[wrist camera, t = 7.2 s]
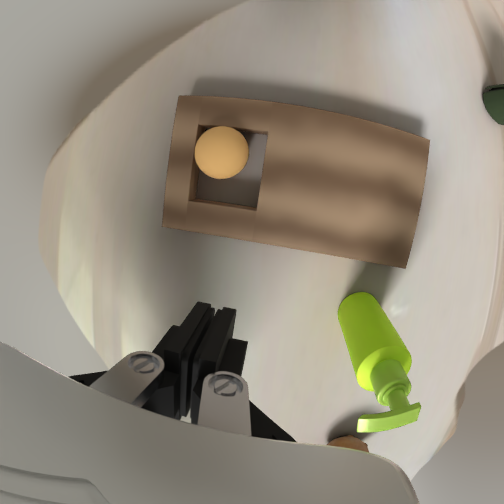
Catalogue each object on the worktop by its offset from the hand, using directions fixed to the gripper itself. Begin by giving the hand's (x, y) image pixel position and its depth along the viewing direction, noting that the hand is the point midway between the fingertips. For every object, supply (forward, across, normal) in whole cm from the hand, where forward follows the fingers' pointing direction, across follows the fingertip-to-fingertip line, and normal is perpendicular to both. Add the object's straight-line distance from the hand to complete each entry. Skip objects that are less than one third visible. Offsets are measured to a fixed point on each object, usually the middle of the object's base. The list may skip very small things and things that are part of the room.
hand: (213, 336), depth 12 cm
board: (+24, -4, -8) cm, 25 cm away
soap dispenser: (+24, -15, +8) cm, 30 cm away
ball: (+21, +5, -9) cm, 23 cm away
